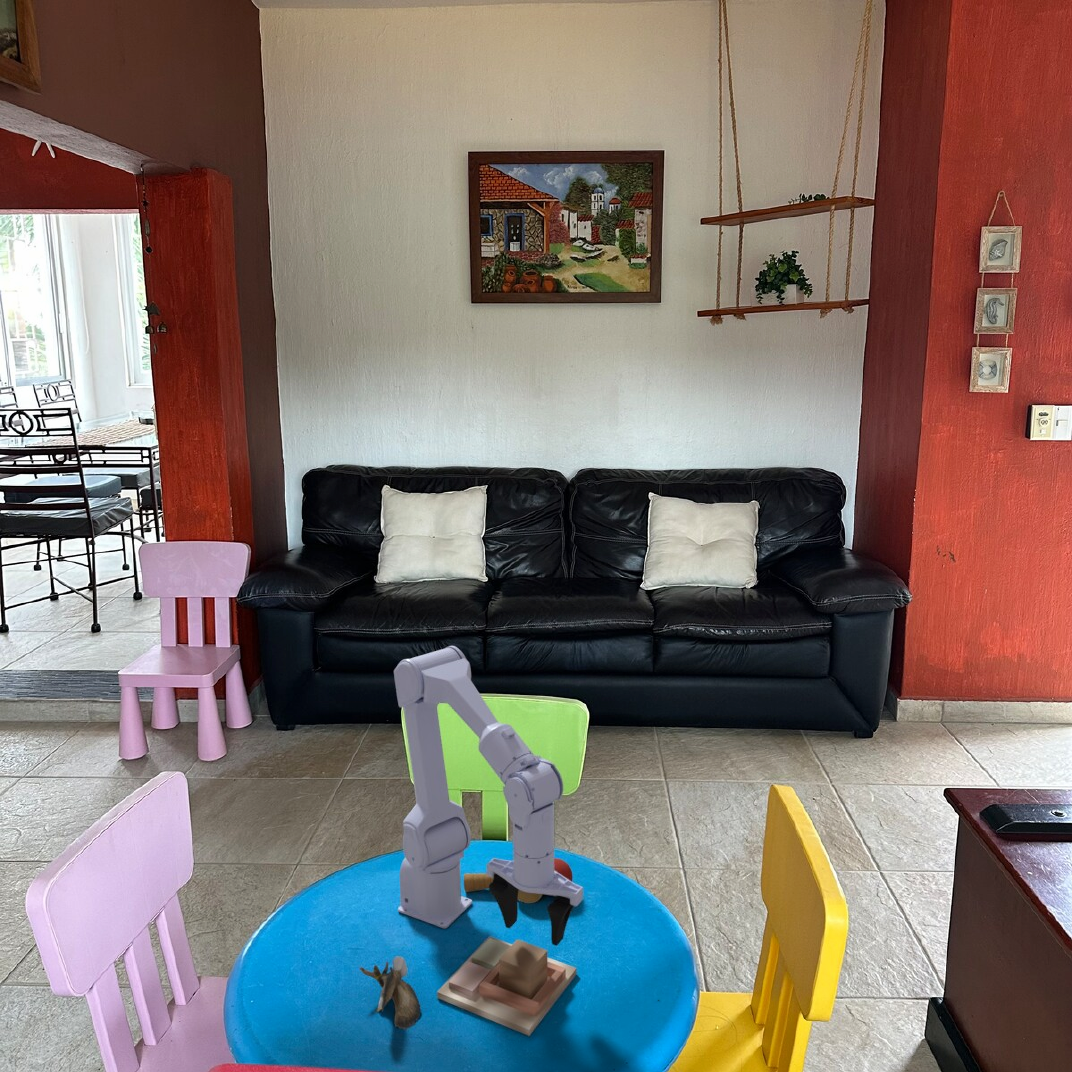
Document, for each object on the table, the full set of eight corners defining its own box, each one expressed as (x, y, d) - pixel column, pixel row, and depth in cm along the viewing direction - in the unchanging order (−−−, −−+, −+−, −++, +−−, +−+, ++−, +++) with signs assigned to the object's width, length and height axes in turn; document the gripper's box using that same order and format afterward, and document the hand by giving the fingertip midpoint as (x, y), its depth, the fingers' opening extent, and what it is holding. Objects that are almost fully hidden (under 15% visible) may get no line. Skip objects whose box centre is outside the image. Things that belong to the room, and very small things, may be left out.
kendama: (464, 914, 159) (574, 903, 157) (458, 876, 158) (568, 865, 157) (470, 894, 166) (575, 883, 165) (465, 858, 166) (570, 847, 165)
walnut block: (499, 989, 138) (498, 959, 137) (517, 969, 142) (517, 939, 141) (529, 1002, 136) (529, 971, 134) (547, 980, 140) (547, 950, 139)
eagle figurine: (347, 996, 137) (371, 1024, 129) (368, 945, 138) (393, 971, 131) (392, 1006, 140) (418, 1035, 133) (412, 957, 142) (439, 982, 134)
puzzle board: (437, 997, 138) (436, 982, 137) (489, 941, 150) (489, 927, 149) (529, 1035, 131) (529, 1020, 130) (576, 973, 143) (576, 959, 142)
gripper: (593, 847, 135) (592, 933, 138) (504, 820, 142) (505, 902, 145) (569, 873, 129) (569, 961, 132) (477, 843, 136) (479, 928, 139)
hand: (534, 932), depth 138 cm, fingers open, 7 cm apart
